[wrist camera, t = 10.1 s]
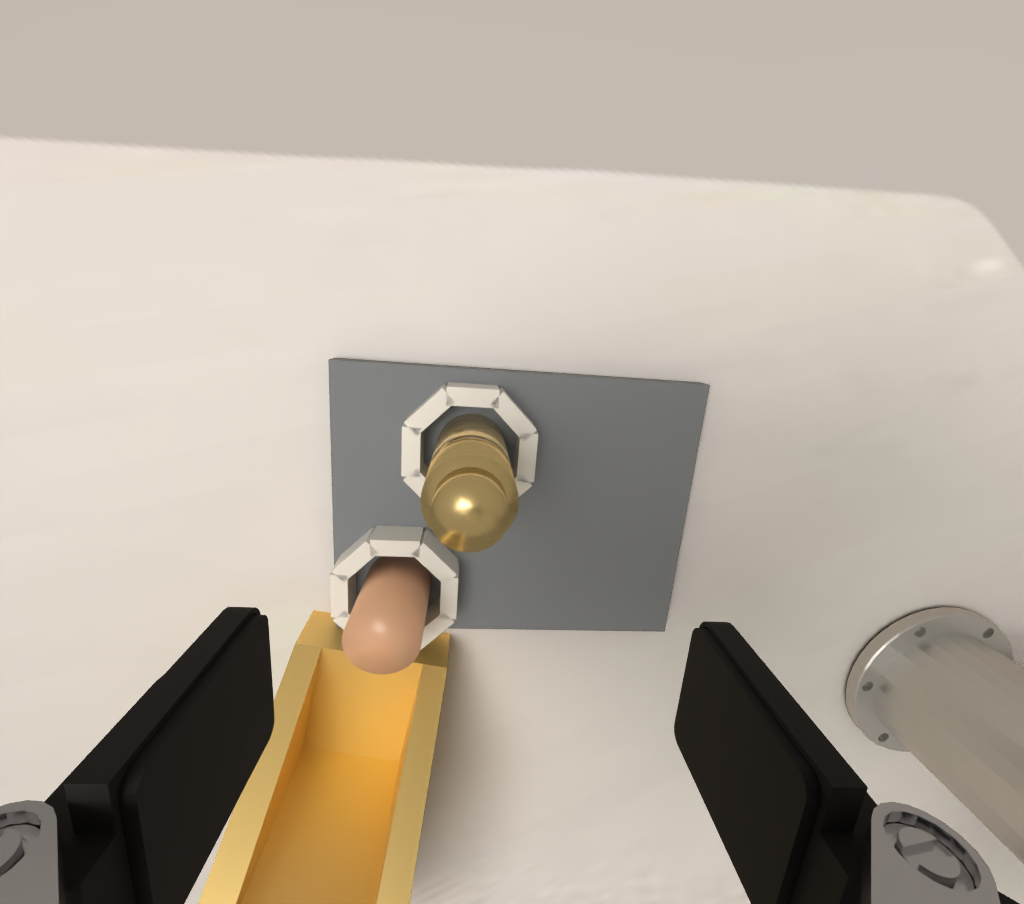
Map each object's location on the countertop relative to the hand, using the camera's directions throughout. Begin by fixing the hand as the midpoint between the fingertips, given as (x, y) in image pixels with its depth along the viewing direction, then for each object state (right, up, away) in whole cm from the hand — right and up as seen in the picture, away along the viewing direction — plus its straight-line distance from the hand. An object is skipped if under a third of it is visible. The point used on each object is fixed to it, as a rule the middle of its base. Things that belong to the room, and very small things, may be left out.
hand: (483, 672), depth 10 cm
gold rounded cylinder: (-2, +5, +18) cm, 18 cm away
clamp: (-11, -16, +24) cm, 31 cm away
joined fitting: (-7, -3, +20) cm, 21 cm away
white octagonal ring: (-2, +5, +18) cm, 18 cm away
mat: (+1, +1, +20) cm, 20 cm away
